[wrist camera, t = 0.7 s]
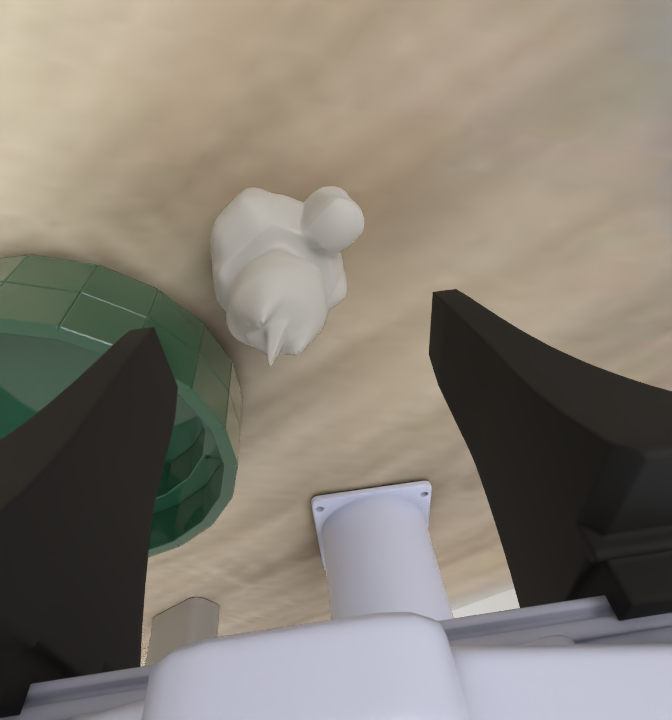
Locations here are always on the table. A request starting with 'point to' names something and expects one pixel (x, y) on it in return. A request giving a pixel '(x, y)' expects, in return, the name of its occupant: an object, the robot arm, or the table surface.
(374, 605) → the robot arm
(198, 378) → the bowl
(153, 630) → the power adapter
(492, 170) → the table surface
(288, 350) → the grey lumpy piece
